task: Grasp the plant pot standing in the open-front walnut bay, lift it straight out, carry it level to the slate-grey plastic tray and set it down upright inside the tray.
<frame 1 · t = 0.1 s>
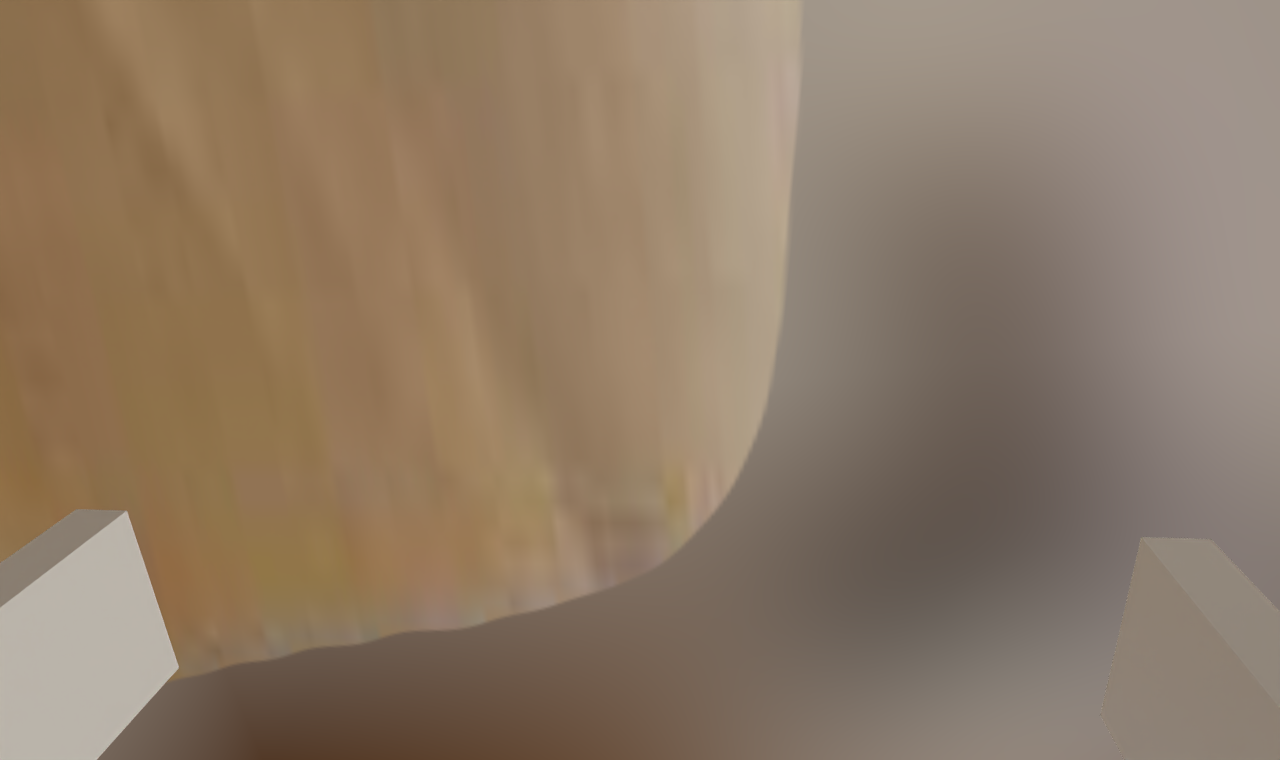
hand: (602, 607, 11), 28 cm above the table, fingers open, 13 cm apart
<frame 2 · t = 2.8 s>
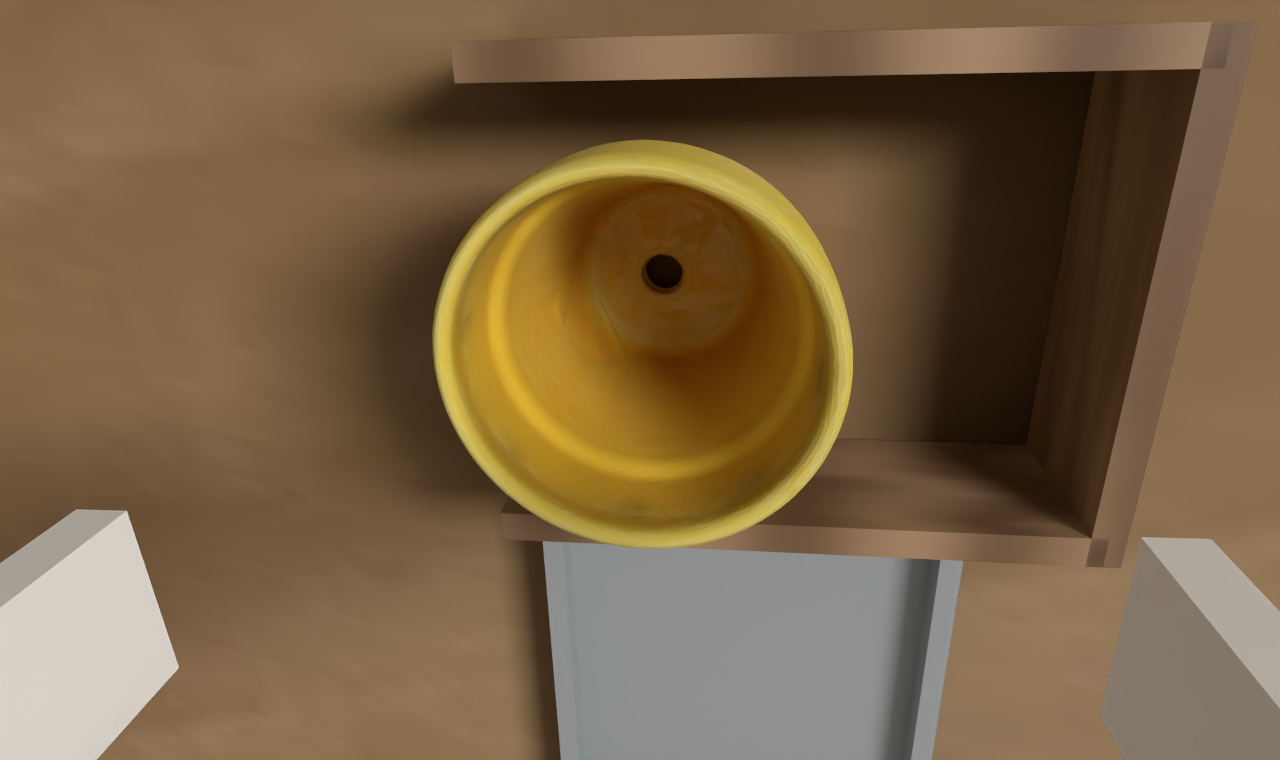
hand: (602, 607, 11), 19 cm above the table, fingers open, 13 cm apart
bay: (754, 268, 28), on the table
plant pot: (669, 266, 29), on the table
tray: (742, 654, 35), on the table
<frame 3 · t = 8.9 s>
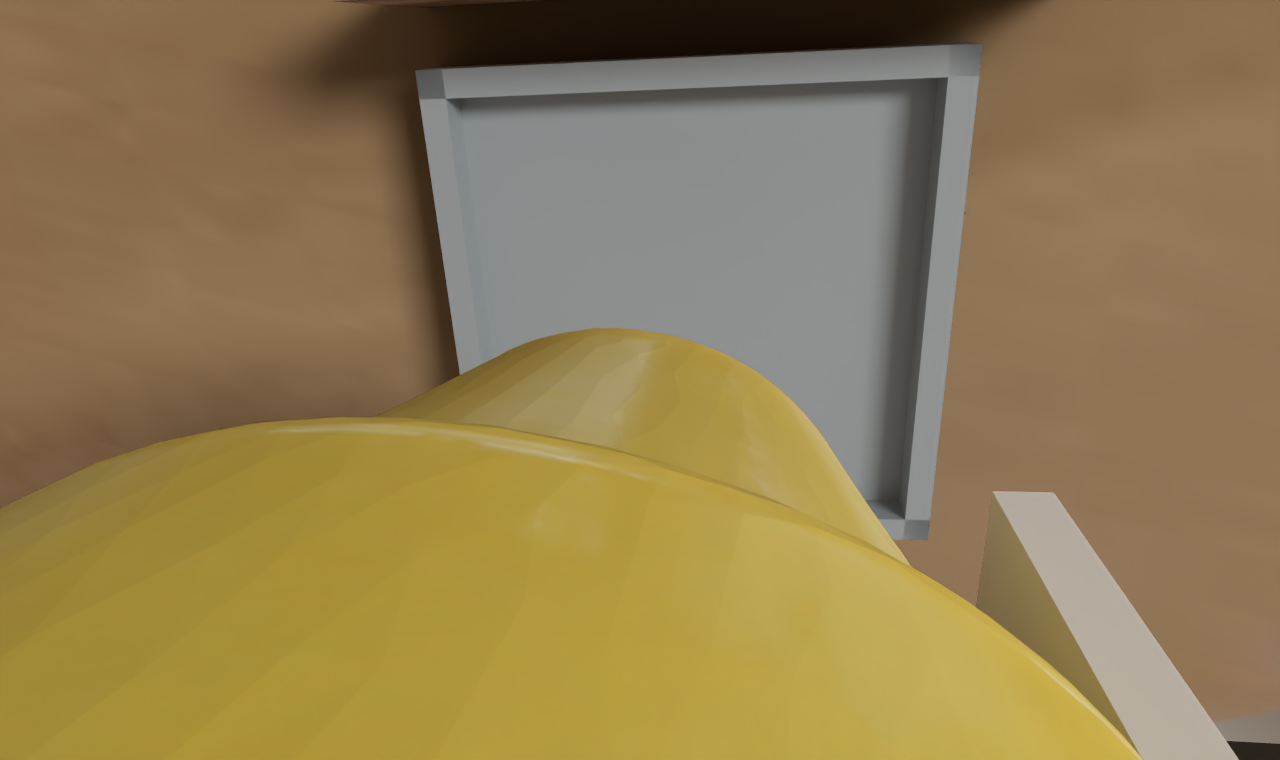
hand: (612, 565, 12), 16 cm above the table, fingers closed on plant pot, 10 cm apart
plant pot: (620, 526, 12), point 15 cm above the table, touching gripper
tray: (696, 305, 27), on the table
when the fingers open (3 cm above the table, at t = 12.5 s): plant pot drops 1 cm, resting on tray.
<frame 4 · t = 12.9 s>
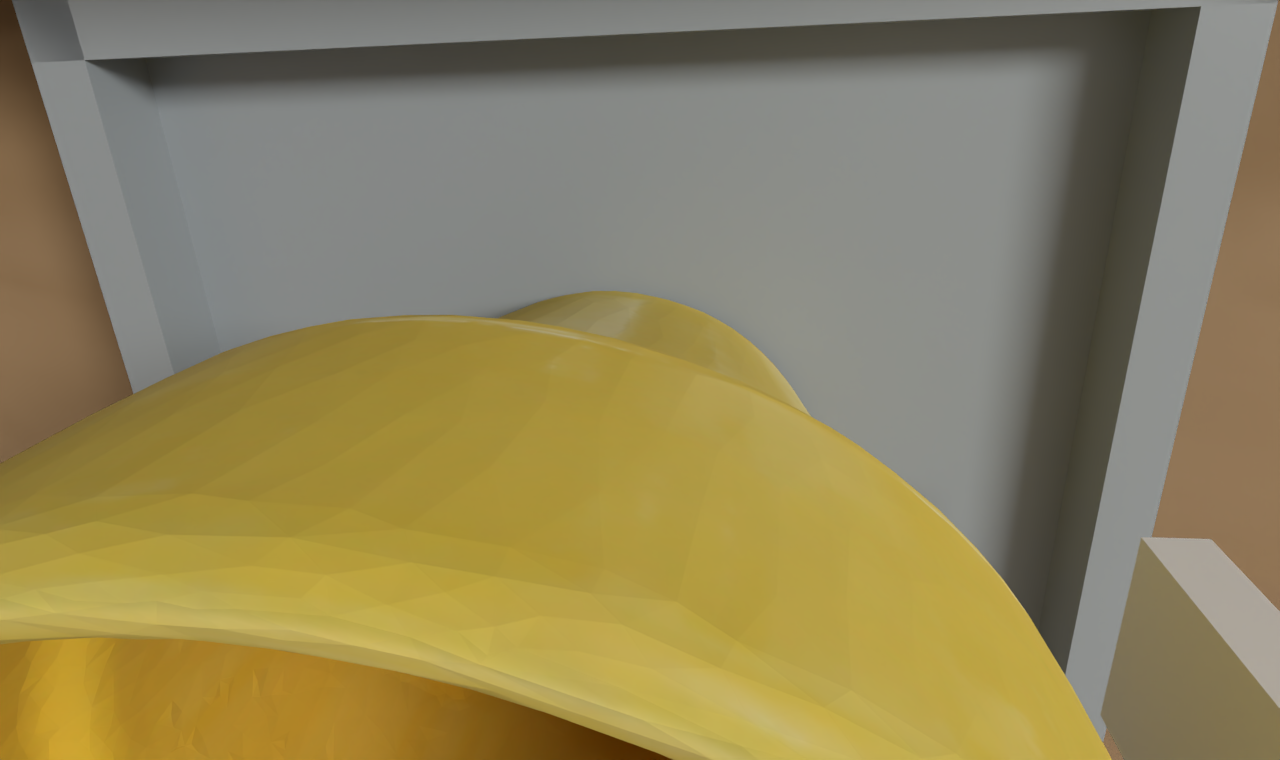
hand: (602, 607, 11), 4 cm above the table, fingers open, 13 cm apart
plant pot: (614, 471, 14), point 1 cm above the table, touching tray
tray: (638, 457, 15), on the table
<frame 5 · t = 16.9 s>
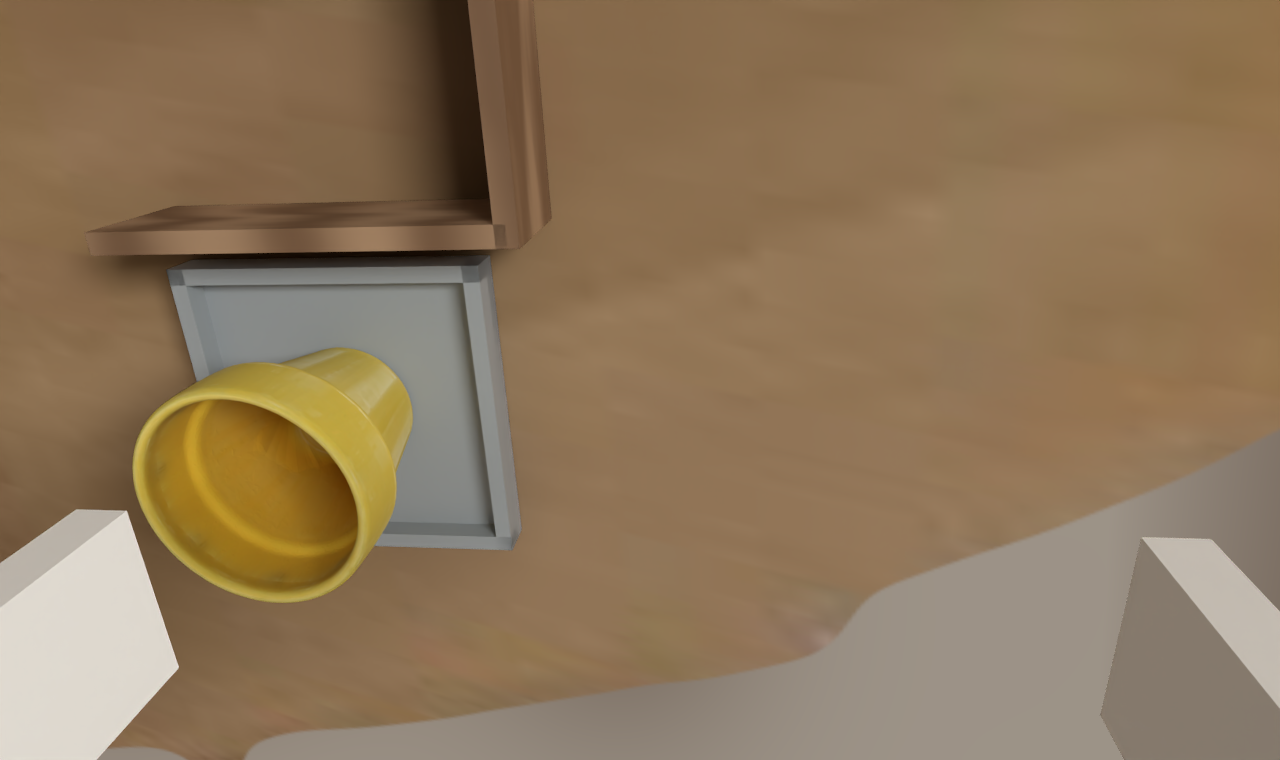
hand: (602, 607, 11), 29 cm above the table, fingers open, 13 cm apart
bay: (299, 58, 36), on the table
plant pot: (353, 404, 42), point 1 cm above the table, touching tray
tray: (364, 400, 43), on the table
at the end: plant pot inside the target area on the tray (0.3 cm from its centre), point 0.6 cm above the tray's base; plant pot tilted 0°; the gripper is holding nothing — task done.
